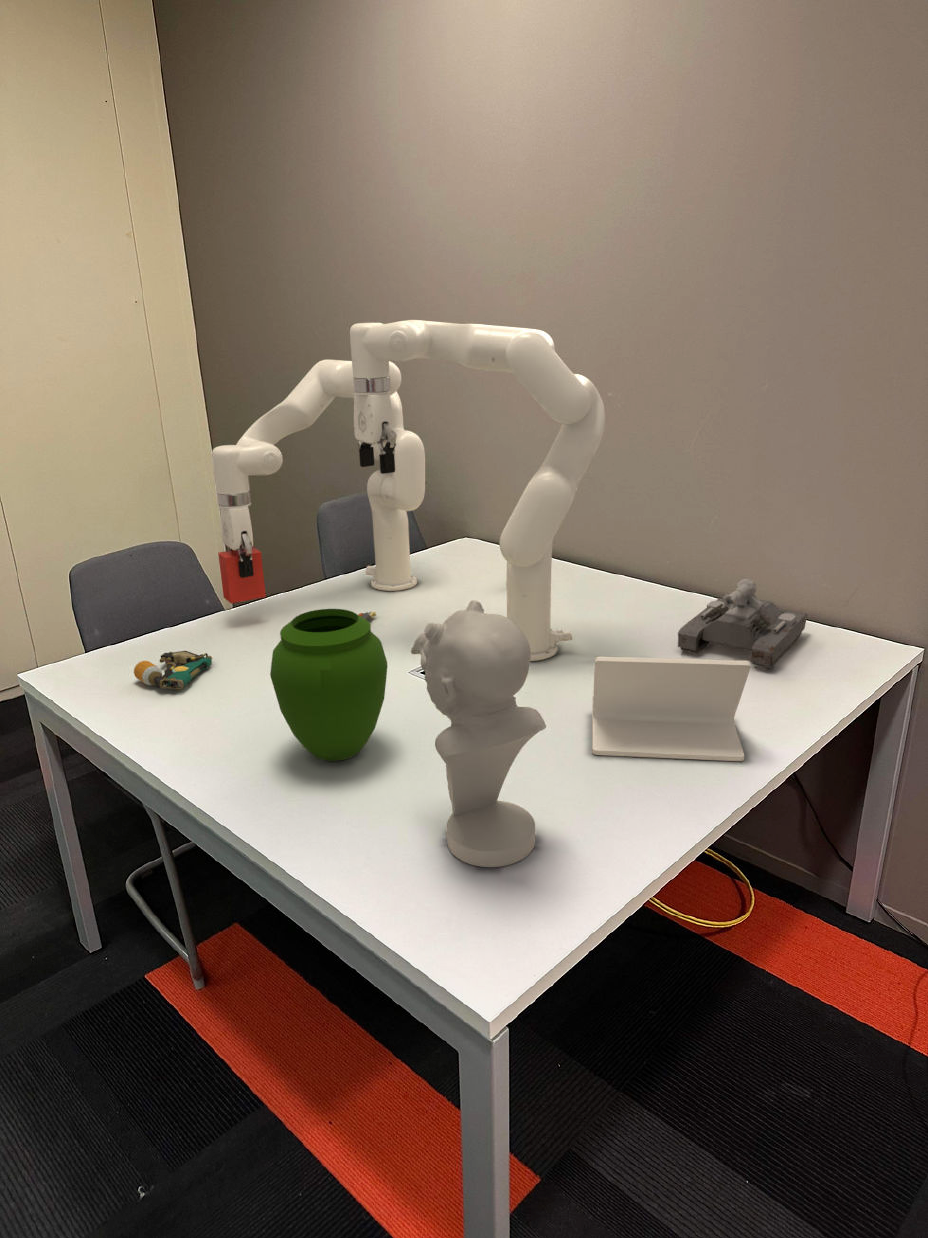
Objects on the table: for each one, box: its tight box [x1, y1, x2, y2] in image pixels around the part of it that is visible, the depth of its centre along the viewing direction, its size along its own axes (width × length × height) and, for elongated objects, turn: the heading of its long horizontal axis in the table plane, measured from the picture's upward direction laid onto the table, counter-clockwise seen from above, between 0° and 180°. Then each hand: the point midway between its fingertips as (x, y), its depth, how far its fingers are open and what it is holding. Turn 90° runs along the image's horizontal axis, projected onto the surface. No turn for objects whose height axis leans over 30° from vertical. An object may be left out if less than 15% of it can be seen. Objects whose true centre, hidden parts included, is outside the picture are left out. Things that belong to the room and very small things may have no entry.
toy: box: [677, 578, 808, 669], centre depth 186 cm, size 25×20×15 cm
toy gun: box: [357, 611, 377, 622], centre depth 203 cm, size 3×19×10 cm
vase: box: [269, 608, 388, 762], centre depth 144 cm, size 20×20×24 cm
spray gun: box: [133, 650, 213, 690], centre depth 180 cm, size 4×17×15 cm
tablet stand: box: [591, 656, 752, 762], centre depth 148 cm, size 18×25×17 cm
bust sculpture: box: [410, 599, 547, 868], centre depth 121 cm, size 16×24×35 cm
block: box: [217, 546, 267, 604], centre depth 206 cm, size 6×9×11 cm, turn 122°
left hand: (242, 572), depth 206 cm, fingers closed on block, 5 cm apart
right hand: (377, 469), depth 181 cm, fingers open, 9 cm apart
